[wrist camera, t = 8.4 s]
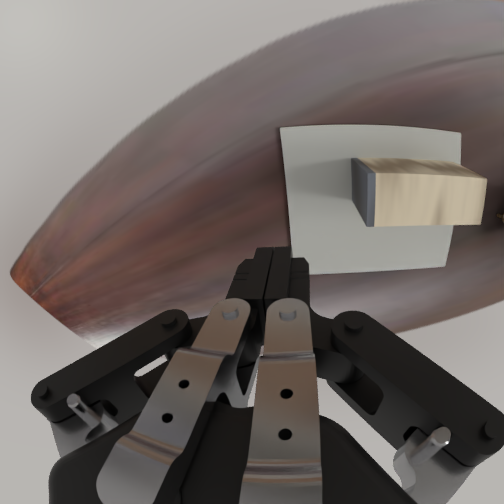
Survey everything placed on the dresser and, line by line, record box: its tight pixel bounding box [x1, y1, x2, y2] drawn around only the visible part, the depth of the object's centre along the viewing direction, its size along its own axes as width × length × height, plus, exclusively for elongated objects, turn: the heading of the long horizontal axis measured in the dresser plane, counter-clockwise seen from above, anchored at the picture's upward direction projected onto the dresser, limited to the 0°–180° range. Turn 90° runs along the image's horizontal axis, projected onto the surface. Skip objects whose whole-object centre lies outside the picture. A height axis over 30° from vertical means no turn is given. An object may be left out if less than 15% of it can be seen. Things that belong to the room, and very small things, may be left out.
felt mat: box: [280, 125, 461, 274], centre depth 23 cm, size 18×15×1 cm
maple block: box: [351, 158, 487, 227], centre depth 19 cm, size 6×4×11 cm
